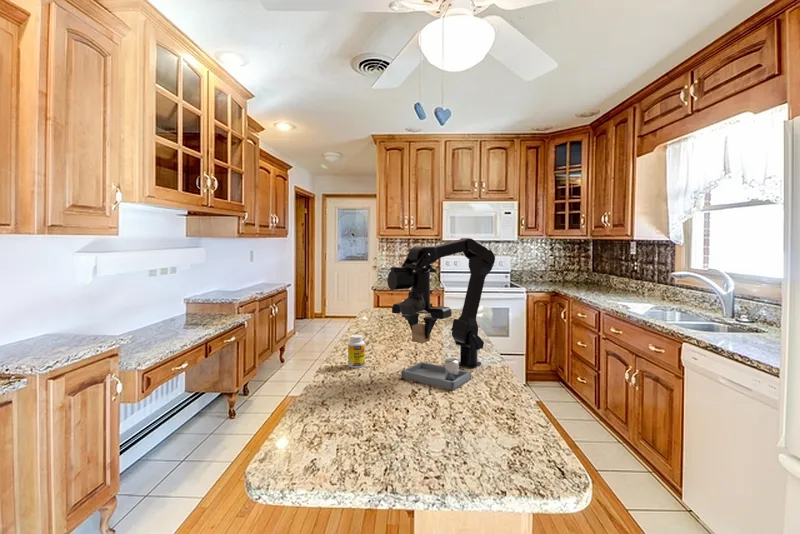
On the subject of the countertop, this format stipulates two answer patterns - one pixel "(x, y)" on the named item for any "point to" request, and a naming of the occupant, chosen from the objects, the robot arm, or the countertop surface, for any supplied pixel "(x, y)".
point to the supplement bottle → (356, 351)
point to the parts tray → (434, 375)
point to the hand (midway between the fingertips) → (420, 337)
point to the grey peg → (451, 369)
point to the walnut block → (419, 333)
